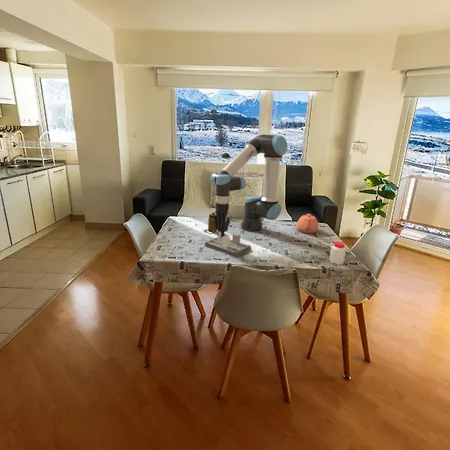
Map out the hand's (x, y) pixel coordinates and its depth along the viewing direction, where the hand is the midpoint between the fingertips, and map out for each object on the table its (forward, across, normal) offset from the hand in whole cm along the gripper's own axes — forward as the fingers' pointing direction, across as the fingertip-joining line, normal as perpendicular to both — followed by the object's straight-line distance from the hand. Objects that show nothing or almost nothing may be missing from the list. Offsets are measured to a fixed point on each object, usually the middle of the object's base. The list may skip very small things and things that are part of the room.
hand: (220, 241), depth 175 cm
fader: (+2, +4, 0) cm, 4 cm away
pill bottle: (+5, +58, +30) cm, 66 cm away
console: (+4, +2, +4) cm, 6 cm away
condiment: (+5, -24, +19) cm, 31 cm away
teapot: (+5, +25, +68) cm, 72 cm away
